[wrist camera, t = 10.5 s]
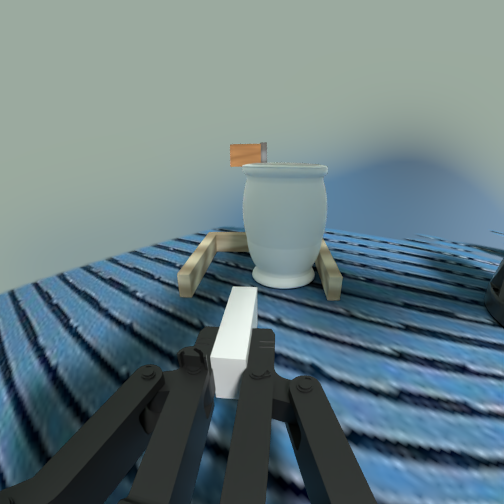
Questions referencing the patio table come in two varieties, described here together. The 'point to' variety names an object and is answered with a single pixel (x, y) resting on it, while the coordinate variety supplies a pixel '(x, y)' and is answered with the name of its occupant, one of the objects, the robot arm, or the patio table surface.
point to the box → (238, 240)
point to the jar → (284, 221)
